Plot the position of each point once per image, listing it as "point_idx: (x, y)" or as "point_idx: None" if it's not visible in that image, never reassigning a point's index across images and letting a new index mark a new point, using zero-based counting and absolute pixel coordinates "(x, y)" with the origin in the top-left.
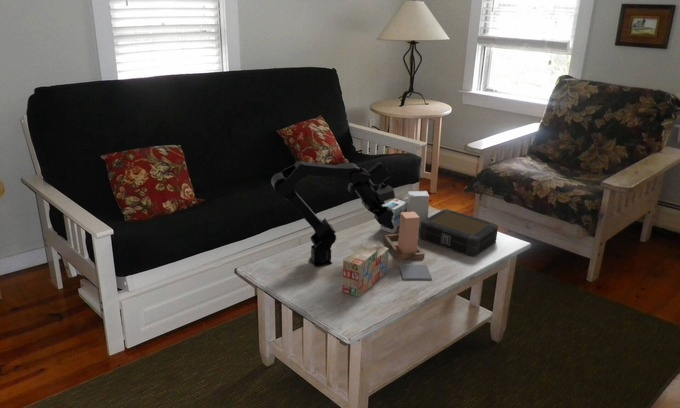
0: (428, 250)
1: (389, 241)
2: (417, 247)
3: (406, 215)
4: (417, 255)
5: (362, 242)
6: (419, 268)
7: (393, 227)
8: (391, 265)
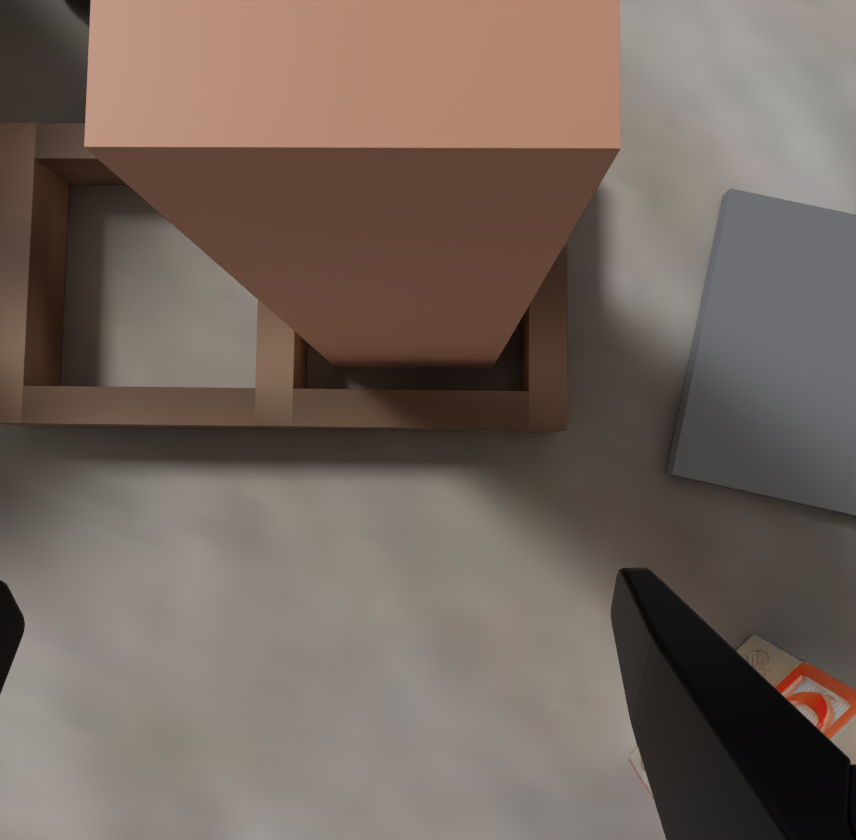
0: None
1: (175, 412)
2: None
3: (373, 29)
4: None
5: (39, 684)
6: (798, 293)
7: (660, 591)
8: (635, 548)
